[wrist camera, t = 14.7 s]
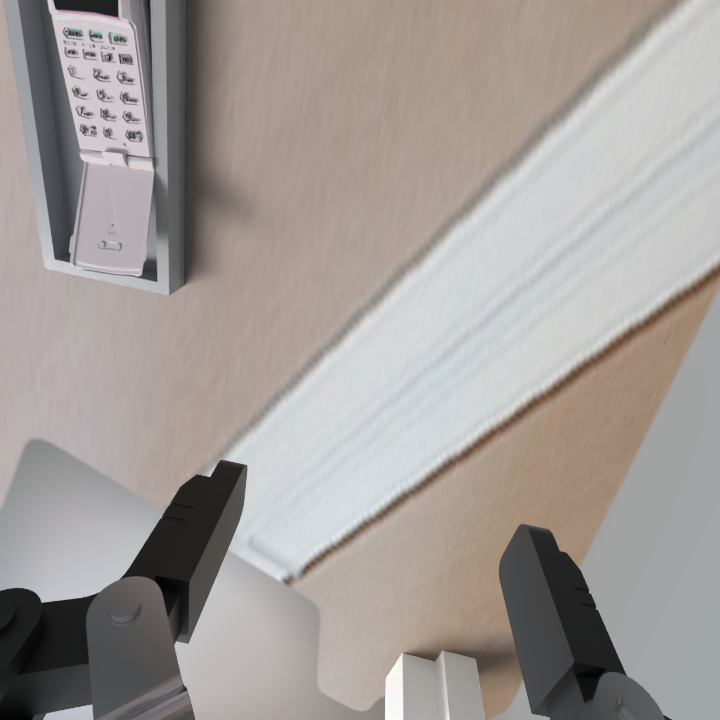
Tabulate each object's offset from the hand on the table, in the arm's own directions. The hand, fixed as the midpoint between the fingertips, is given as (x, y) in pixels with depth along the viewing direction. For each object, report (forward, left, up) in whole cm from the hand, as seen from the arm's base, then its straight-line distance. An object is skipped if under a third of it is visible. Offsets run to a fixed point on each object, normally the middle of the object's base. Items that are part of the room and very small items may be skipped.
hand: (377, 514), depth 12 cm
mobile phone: (-9, -23, -27) cm, 36 cm away
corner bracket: (+61, +21, -28) cm, 70 cm away
